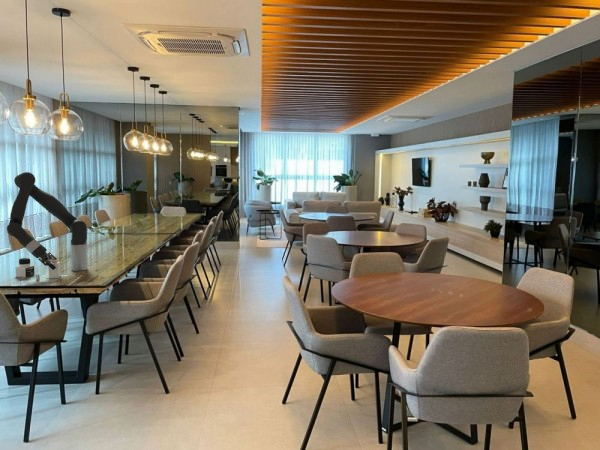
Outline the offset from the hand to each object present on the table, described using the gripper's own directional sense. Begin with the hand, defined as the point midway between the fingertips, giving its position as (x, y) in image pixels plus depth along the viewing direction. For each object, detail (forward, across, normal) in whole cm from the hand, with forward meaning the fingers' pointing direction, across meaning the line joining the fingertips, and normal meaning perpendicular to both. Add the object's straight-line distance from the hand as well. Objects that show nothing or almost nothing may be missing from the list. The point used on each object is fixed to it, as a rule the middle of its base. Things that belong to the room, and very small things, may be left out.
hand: (57, 267), depth 280 cm
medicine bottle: (-9, +6, +20) cm, 23 cm away
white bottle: (+3, 0, +5) cm, 6 cm away
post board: (+2, -2, +8) cm, 9 cm away
